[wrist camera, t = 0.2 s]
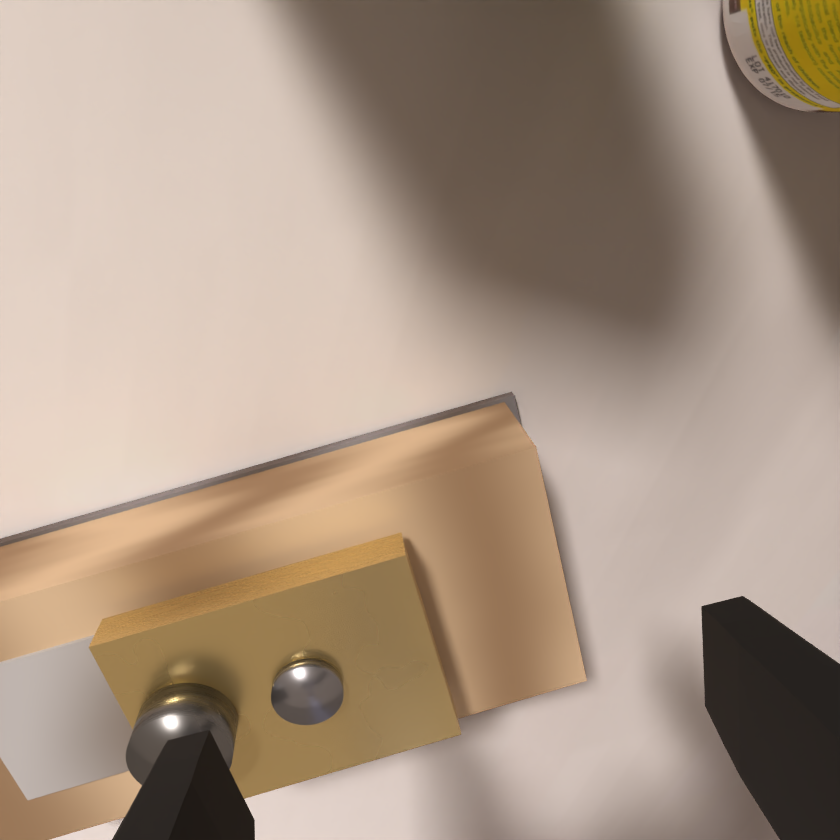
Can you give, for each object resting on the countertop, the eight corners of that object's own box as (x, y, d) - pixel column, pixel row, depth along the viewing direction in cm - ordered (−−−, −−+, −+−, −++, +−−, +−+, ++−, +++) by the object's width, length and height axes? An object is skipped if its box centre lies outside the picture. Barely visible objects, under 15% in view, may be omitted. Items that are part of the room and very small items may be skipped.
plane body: (511, 392, 20) (549, 441, 16) (558, 603, 22) (599, 682, 19) (-79, 561, 19) (-164, 646, 16) (39, 755, 22) (-12, 863, 19)
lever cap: (401, 531, 16) (410, 581, 14) (454, 704, 18) (468, 767, 16) (102, 618, 16) (72, 679, 14) (187, 783, 18) (171, 855, 16)
